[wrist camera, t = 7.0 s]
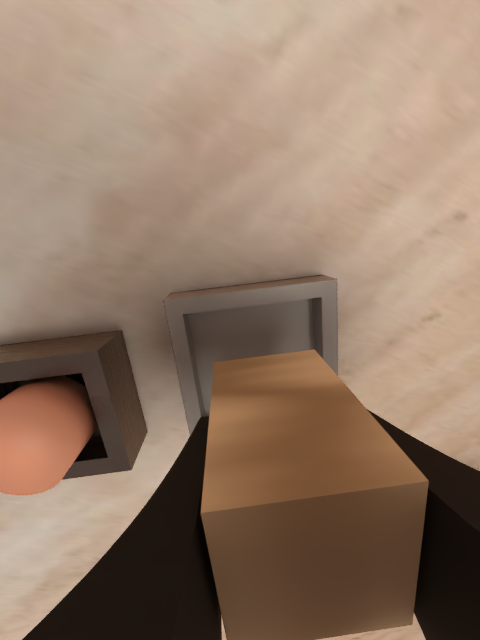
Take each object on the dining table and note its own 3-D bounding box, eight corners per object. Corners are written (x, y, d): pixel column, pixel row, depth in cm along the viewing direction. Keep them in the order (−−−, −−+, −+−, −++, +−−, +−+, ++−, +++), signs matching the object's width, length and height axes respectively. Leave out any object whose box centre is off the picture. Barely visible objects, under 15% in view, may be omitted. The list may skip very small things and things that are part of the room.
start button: (29, 450, 14) (-19, 501, 12) (0, 380, 13) (-62, 418, 10) (109, 440, 15) (80, 487, 12) (87, 369, 13) (50, 403, 10)
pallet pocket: (195, 422, 17) (192, 445, 15) (171, 293, 15) (163, 300, 13) (325, 405, 17) (338, 425, 15) (322, 275, 15) (337, 279, 13)
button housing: (38, 446, 17) (0, 488, 14) (-2, 345, 15) (-57, 369, 12) (147, 431, 17) (131, 469, 14) (121, 330, 15) (97, 350, 12)
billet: (227, 445, 11) (229, 652, 6) (214, 361, 10) (200, 512, 4) (317, 433, 11) (412, 624, 6) (314, 349, 10) (428, 481, 5)
